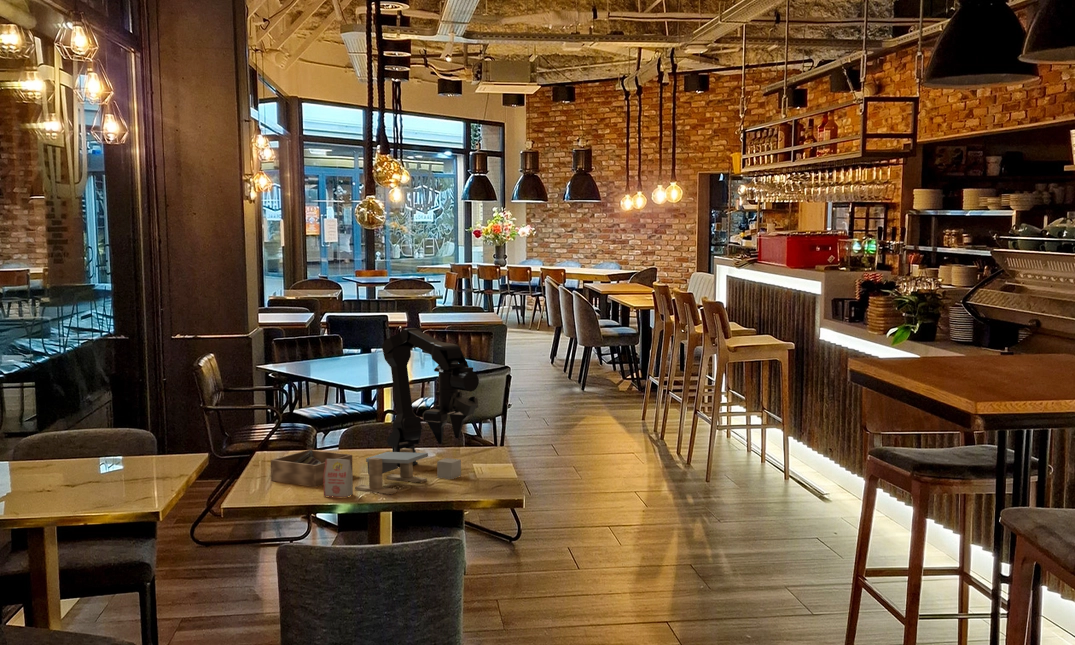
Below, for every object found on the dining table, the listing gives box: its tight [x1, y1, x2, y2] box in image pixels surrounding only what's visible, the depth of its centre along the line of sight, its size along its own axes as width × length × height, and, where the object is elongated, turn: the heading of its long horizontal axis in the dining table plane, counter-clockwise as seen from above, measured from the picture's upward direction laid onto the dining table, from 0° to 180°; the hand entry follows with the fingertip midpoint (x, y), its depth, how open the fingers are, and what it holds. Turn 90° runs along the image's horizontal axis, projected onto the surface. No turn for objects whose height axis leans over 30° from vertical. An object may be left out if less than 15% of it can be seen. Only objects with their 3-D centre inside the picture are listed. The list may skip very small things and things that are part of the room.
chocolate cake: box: [295, 449, 321, 465], centre depth 273 cm, size 10×7×12 cm
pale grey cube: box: [436, 457, 462, 480], centre depth 273 cm, size 5×5×5 cm
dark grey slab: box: [365, 451, 429, 475], centre depth 261 cm, size 14×10×5 cm
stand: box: [354, 448, 428, 495], centre depth 262 cm, size 12×18×9 cm
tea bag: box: [323, 459, 354, 498], centre depth 251 cm, size 4×7×10 cm, turn 79°
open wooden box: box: [270, 449, 354, 488], centre depth 272 cm, size 16×16×6 cm
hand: (448, 441), depth 272 cm, fingers open, 9 cm apart
